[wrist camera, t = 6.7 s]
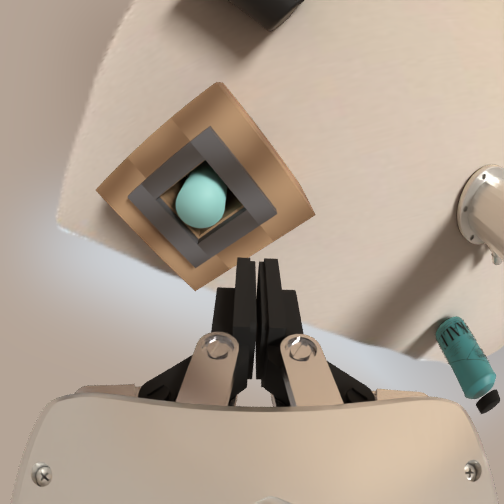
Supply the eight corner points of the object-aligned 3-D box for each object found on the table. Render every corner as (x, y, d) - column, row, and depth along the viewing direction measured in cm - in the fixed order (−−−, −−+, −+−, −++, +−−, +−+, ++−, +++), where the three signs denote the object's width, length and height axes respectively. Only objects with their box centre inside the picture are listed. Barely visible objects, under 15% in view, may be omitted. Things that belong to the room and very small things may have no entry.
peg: (236, 176, 32) (234, 210, 24) (207, 197, 33) (197, 236, 26) (213, 148, 30) (203, 172, 23) (184, 170, 32) (165, 202, 24)
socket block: (300, 184, 33) (318, 219, 26) (203, 249, 37) (194, 297, 30) (222, 82, 27) (214, 82, 19) (125, 164, 31) (91, 194, 23)
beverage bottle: (449, 334, 49) (491, 414, 32) (425, 336, 48) (467, 423, 31) (464, 309, 46) (514, 390, 28) (440, 310, 45) (491, 400, 28)
